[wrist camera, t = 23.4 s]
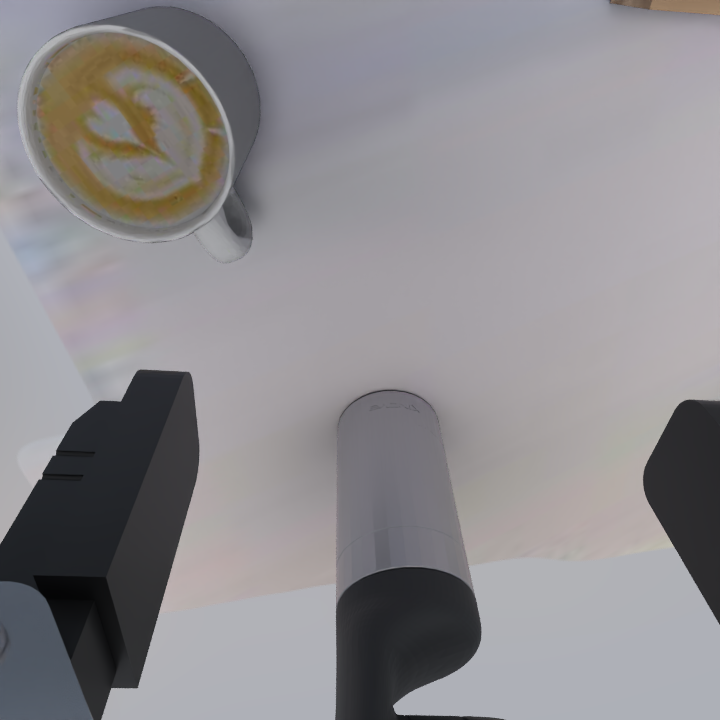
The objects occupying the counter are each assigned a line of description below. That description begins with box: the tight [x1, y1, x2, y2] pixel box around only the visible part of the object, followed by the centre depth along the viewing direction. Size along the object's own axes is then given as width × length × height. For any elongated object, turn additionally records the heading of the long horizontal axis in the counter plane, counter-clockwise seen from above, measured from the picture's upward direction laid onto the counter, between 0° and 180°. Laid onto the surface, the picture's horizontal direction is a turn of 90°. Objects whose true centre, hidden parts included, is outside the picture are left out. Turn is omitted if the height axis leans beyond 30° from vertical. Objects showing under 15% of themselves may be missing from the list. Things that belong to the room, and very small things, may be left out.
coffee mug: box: [17, 7, 260, 263], centre depth 31 cm, size 13×10×10 cm
